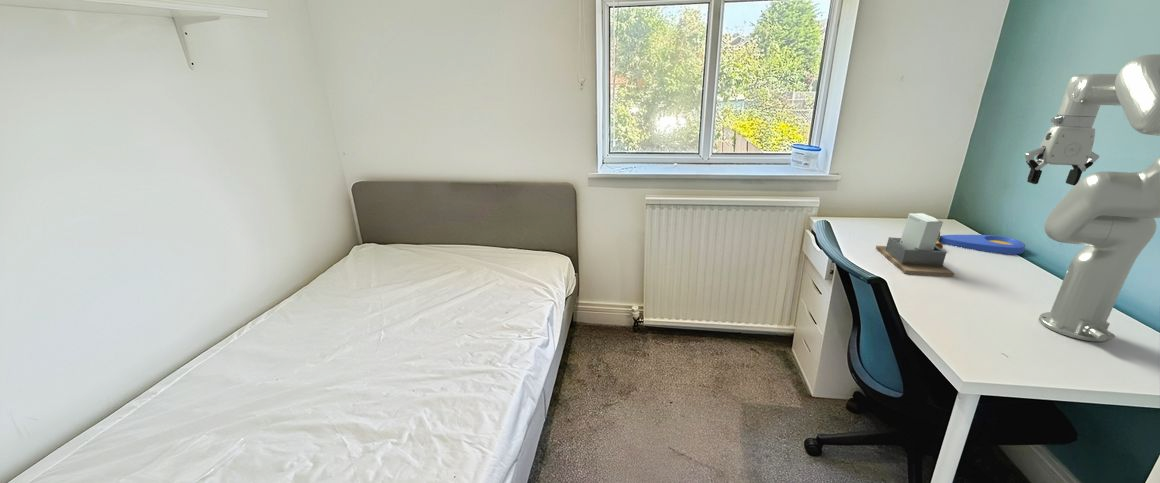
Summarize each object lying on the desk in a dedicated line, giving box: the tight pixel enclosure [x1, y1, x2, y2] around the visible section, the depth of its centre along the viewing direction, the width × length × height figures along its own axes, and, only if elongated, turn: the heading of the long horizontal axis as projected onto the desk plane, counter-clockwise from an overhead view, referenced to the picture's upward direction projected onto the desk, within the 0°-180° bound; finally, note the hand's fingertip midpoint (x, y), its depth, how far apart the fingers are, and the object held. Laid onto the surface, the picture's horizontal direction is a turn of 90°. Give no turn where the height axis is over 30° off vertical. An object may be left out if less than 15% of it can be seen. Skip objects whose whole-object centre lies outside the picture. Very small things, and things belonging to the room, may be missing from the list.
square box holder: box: [875, 237, 955, 278], centre depth 156 cm, size 22×14×6 cm, turn 170°
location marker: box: [938, 234, 1026, 256], centre depth 170 cm, size 13×3×25 cm
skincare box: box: [900, 212, 944, 251], centre depth 154 cm, size 8×6×15 cm
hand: (1051, 183), depth 133 cm, fingers open, 9 cm apart
